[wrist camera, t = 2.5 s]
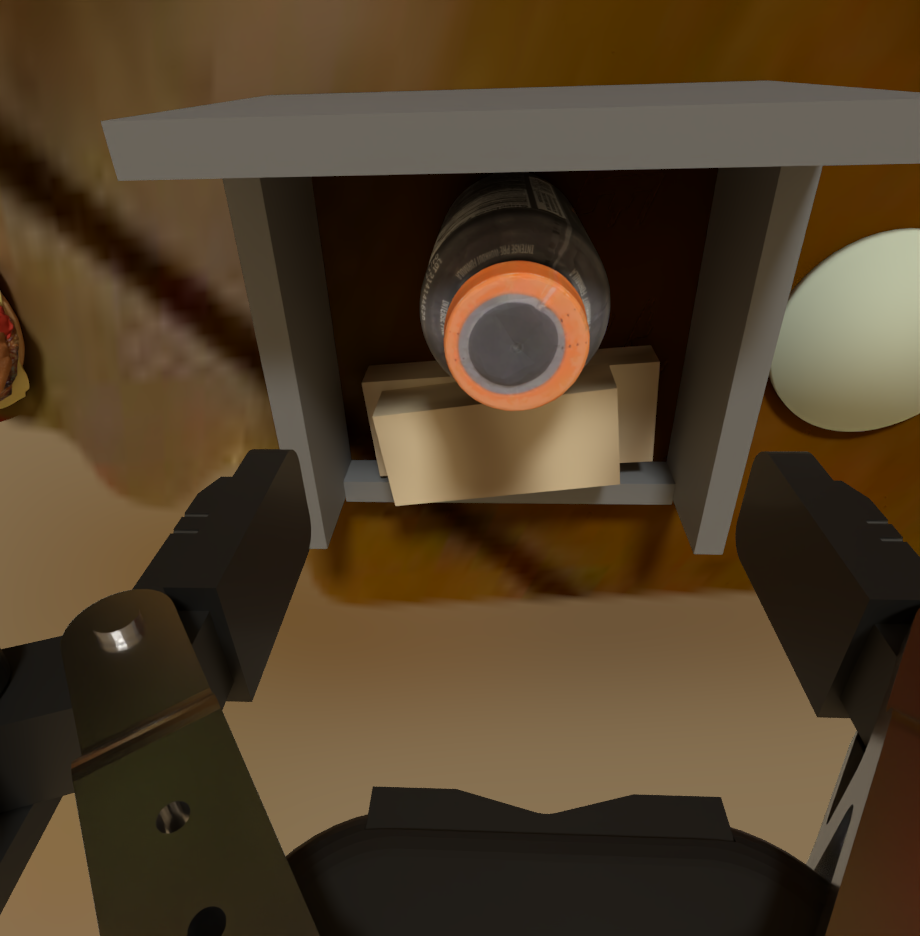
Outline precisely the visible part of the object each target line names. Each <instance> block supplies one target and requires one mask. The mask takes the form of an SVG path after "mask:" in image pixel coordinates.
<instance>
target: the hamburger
mask: <svg viewBox="0 0 920 936" xmlns="http://www.w3.org/2000/svg"><path fill="white" fill-rule="evenodd" d="M24 354H25V345H24V340H23V336H22V332H21V328H20V324H19V320H18V318H17V316H16V315H15V313H14V311H13V310H12V308H11V306H10V304H9V303H8V301H7V300H6V298H5V297H4V296H3V294H2V293H1V292H0V409H2V408H5V407H8V406H10V405H12V404H13V403H15V402H16V401H18V400H20V399H22V398H23V397H26V395H25V392H26V391H27V390H28V389H29V380H28V377H27V374H26V372H25V370H24V368H23V363H24ZM5 420H8V419H5V418H2V417H0V422H2V421H5Z"/></svg>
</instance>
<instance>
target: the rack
mask: <svg viewBox="0 0 920 936" xmlns="http://www.w3.org/2000/svg"><path fill="white" fill-rule="evenodd" d="M101 124H102V128H103V131H104V134H105V138H106V141H107V145H108V148H109V151H110V155H111V158H112V162H113V165H114V168H115V172H116V175H117V179H118V181H124V180H171V179H217V178H223V183H224V188H225V192H226V197H227V202H228V207H229V211H230V216H231V221H232V226H233V230H234V235H235V240H236V244H237V249H238V254H239V259H240V263H241V268H242V273H243V278H244V282H245V287H246V292H247V296H248V301H249V306H250V311H251V315H252V320H253V325H254V330H255V334H256V339H257V344H258V348H259V353H260V358H261V363H262V367H263V372H264V377H265V382H266V386H267V391H268V396H269V400H270V405H271V410H272V415H273V419H274V424H275V429H276V434H277V438H278V443H279V448H280V449H289V450H294V451H295V452H296V453H297V455H298V458H299V462H300V467H301V473H302V478H303V483H304V488H305V493H306V499H307V504H308V509H309V514H310V520H311V542H310V548H309V549H327V548H328V545H329V543H330V540H331V537H332V534H333V531H334V529H335V526H336V523H337V520H338V517H339V514H340V512H341V509H342V506H343V503H344V500H345V497H346V502H394V499H393V495H392V491H391V487H390V483H389V479H388V476H380V473H379V468H378V463H377V460H351V453H350V446H349V439H348V432H347V425H346V418H345V411H344V404H343V397H342V389H341V382H340V375H339V368H338V361H337V354H336V347H335V340H334V333H333V326H332V319H331V312H330V305H329V298H328V291H327V283H326V276H325V269H324V262H323V255H322V248H321V241H320V234H319V227H318V220H317V213H316V206H315V199H314V192H313V184H312V177H311V176H356V175H402V174H449V173H495V172H541V171H588V170H634V169H681V168H718V173H717V178H716V184H715V190H714V195H713V201H712V207H711V212H710V218H709V224H708V229H707V235H706V241H705V246H704V252H703V258H702V263H701V269H700V274H699V280H698V286H697V291H696V297H695V303H694V308H693V314H692V320H691V325H690V331H689V337H688V342H687V348H686V354H685V359H684V365H683V371H682V376H681V382H680V388H679V393H678V399H677V405H676V410H675V416H674V422H673V427H672V433H671V439H670V444H669V450H668V456H667V461H666V462H629V463H620V484H618V485H608V486H598V487H588V488H577V489H567V490H557V491H546V492H536V493H526V494H515V495H505V496H495V497H485V498H474V499H464V500H454V501H443V502H435V503H539V504H643V505H672V501H673V502H674V504H675V507H676V509H677V512H678V515H679V517H680V520H681V522H682V525H683V527H684V530H685V532H686V535H687V538H688V540H689V543H690V545H691V548H692V550H693V553H694V554H723V551H724V547H725V543H726V539H727V535H728V531H729V527H730V523H731V519H732V516H733V512H734V508H735V504H736V500H737V496H738V492H739V488H740V485H741V481H742V477H743V473H744V469H745V465H746V461H747V457H748V453H749V450H750V446H751V442H752V438H753V434H754V430H755V426H756V422H757V419H758V415H759V411H760V407H761V403H762V399H763V395H764V391H765V387H766V384H767V380H768V376H769V372H770V368H771V364H772V360H773V356H774V353H775V349H776V345H777V341H778V337H779V333H780V329H781V325H782V321H783V318H784V314H785V310H786V306H787V302H788V298H789V294H790V290H791V287H792V283H793V279H794V275H795V271H796V267H797V263H798V259H799V255H800V252H801V248H802V244H803V240H804V236H805V232H806V228H807V224H808V221H809V217H810V213H811V209H812V205H813V201H814V197H815V193H816V190H817V186H818V182H819V178H820V174H821V170H822V166H823V165H866V164H912V163H920V93H918V92H905V91H892V90H880V89H867V88H854V87H842V86H829V85H816V84H803V83H791V82H778V81H739V82H706V83H672V84H638V85H604V86H570V87H536V88H502V89H468V90H434V91H400V92H366V93H332V94H299V95H268V96H261V97H255V98H248V99H242V100H235V101H229V102H222V103H216V104H209V105H203V106H197V107H190V108H184V109H177V110H171V111H164V112H158V113H151V114H145V115H138V116H132V117H125V118H119V119H112V120H106V121H101Z"/></svg>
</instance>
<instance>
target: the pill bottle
mask: <svg viewBox="0 0 920 936" xmlns="http://www.w3.org/2000/svg"><path fill="white" fill-rule="evenodd" d="M609 314H610V286H609V282H608V278H607V274H606V271H605V268H604V266H603V264H602V261H601V259H600V257H599V254H598V252H597V251H596V249H595V247H594V245H593V243H592V242H591V240H590V238H589V236H588V234H587V233H586V231H585V229H584V227H583V225H582V224H581V221H580V220H579V218H578V216H577V214H576V212H575V210H574V209H573V207H572V205H571V204H570V202H569V201H568V199H567V198H566V197H565V196H564V195H563V194H562V192H561V191H560V190H558V189H557V188H556V187H555V186H553V185H552V184H551V183H549V182H548V181H546V180H544V179H543V178H540V177H538V176H536V175H533V174H529V173H524V172H502V173H496V174H492V175H490V176H487V177H485V178H483V179H481V180H479V181H477V182H475V183H474V184H472V185H470V186H469V187H468V188H467V189H465V190H464V191H463V192H462V193H461V194H460V195H459V196H458V197H457V199H456V200H455V201H454V203H453V204H452V206H451V207H450V209H449V211H448V213H447V214H446V216H445V219H444V221H443V224H442V226H441V229H440V231H439V234H438V236H437V240H436V243H435V245H434V248H433V251H432V254H431V257H430V261H429V265H428V268H427V271H426V274H425V277H424V281H423V284H422V288H421V295H420V321H421V326H422V331H423V334H424V337H425V340H426V342H427V345H428V347H429V349H430V351H431V353H432V354H433V356H434V358H435V359H436V361H437V362H438V364H439V365H440V366H441V367H442V368H443V370H444V371H445V372H446V373H448V374H449V375H450V376H451V377H452V378H453V379H454V380H455V381H456V382H457V383H458V385H459V386H460V388H461V389H462V390H463V391H465V392H466V393H467V394H468V395H469V396H471V397H472V398H473V399H475V400H476V401H478V402H480V403H482V404H484V405H486V406H489V407H492V408H495V409H500V410H505V411H524V410H530V409H534V408H538V407H541V406H543V405H545V404H547V403H549V402H552V401H554V400H556V399H557V398H558V397H560V396H561V395H563V394H564V393H565V392H566V391H567V390H568V389H569V388H570V387H571V386H572V385H573V384H574V383H575V381H576V380H577V378H578V377H579V375H580V373H581V372H582V370H583V368H584V367H585V366H586V365H587V364H588V363H589V361H590V360H591V359H592V357H593V356H594V355H595V353H596V351H597V350H598V348H599V346H600V344H601V342H602V339H603V337H604V334H605V332H606V328H607V325H608V321H609Z"/></svg>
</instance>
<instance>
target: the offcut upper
mask: <svg viewBox="0 0 920 936" xmlns="http://www.w3.org/2000/svg"><path fill="white" fill-rule="evenodd" d="M372 418H373V421H374V425H375V429H376V433H377V437H378V441H379V445H380V448H381V452H382V456H383V460H384V464H385V468H386V472H387V475H388V479H389V483H390V487H391V491H392V495H393V499H394V502H395V506H402V505H412V504H423V503H433V502H443V501H454V500H464V499H474V498H485V497H495V496H505V495H515V494H526V493H536V492H546V491H557V490H567V489H577V488H588V487H598V486H608V485H618V484H620V463H619V429H618V394H617V386H616V383H615V380H614V378H613V375H612V372H611V369H610V366H609V364H608V363H606V364H598V365H590V366H585V367H584V368H583V370H582V372H581V373H580V375H579V377H578V378H577V380H576V381H575V383H574V384H573V385H572V386H571V387H570V388H569V389H568V390H567V391H566V392H565V393H564V394H563V395H561V396H560V397H558V398H557V399H556V400H554V401H552V402H549V403H547V404H545V405H543V406H541V407H538V408H534V409H530V410H524V411H505V410H500V409H495V408H492V407H489V406H486V405H484V404H482V403H480V402H478V401H476V400H475V399H473V398H472V397H471V396H469V395H468V394H467V393H466V392H465V391H463V390H462V389H461V388H460V386H459V385H458V383H457V382H451V383H443V384H435V385H427V386H419V387H410V388H402V389H394V390H386V391H382V392H381V395H380V397H379V400H378V403H377V406H376V408H375V411H374V414H373V416H372Z"/></svg>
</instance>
